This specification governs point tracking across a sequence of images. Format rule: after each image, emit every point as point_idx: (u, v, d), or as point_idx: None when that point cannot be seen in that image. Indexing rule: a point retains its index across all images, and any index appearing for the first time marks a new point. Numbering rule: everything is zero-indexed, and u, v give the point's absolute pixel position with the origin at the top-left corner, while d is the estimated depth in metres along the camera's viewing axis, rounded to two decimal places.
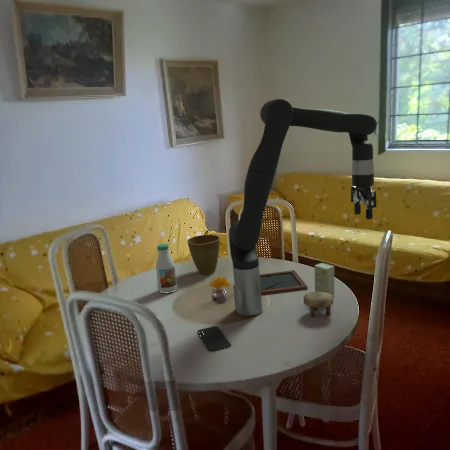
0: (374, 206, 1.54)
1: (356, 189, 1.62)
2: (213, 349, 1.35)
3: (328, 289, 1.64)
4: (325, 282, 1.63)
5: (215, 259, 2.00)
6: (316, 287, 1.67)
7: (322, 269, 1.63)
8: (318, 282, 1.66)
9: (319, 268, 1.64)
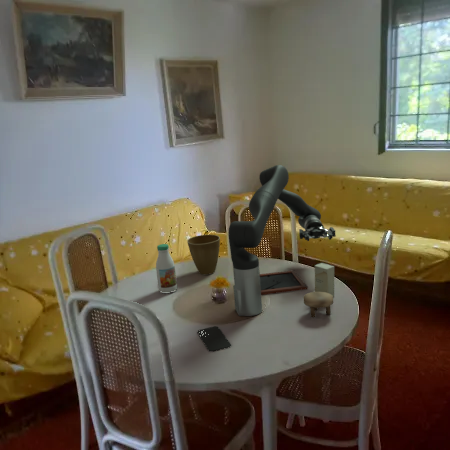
0: None
1: (309, 229, 1.83)
2: (213, 349, 1.35)
3: (328, 289, 1.64)
4: (325, 282, 1.63)
5: (215, 259, 2.00)
6: (316, 287, 1.67)
7: (322, 269, 1.63)
8: (318, 282, 1.66)
9: (319, 268, 1.64)
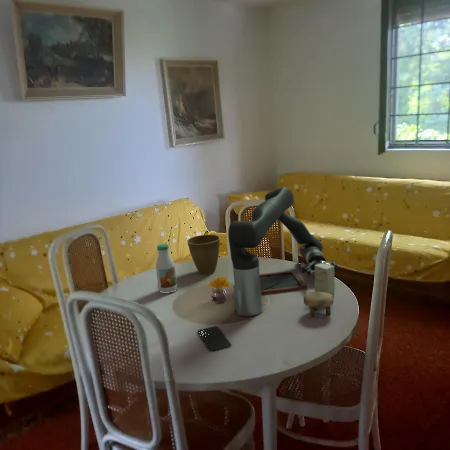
0: None
1: (311, 262, 1.83)
2: (213, 349, 1.35)
3: (328, 289, 1.64)
4: (325, 282, 1.63)
5: (215, 259, 2.00)
6: (316, 287, 1.67)
7: (322, 269, 1.63)
8: (318, 282, 1.66)
9: (319, 268, 1.64)
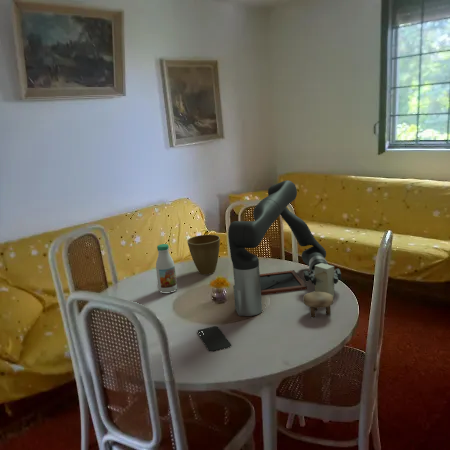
0: (340, 277, 1.69)
1: (314, 270, 1.74)
2: (213, 349, 1.35)
3: (328, 289, 1.64)
4: (325, 282, 1.63)
5: (215, 259, 2.00)
6: (316, 287, 1.67)
7: (322, 269, 1.63)
8: (318, 282, 1.66)
9: (319, 268, 1.64)
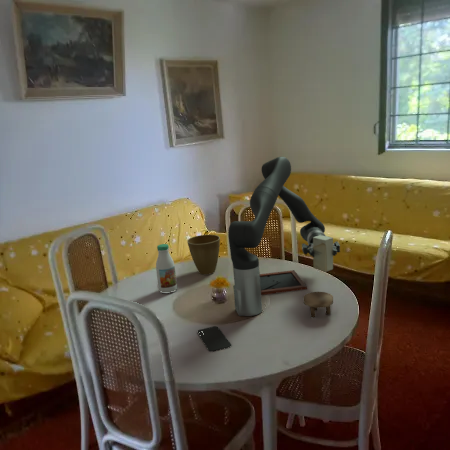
0: (339, 250, 1.65)
1: (312, 243, 1.71)
2: (213, 349, 1.35)
3: (327, 261, 1.61)
4: (323, 254, 1.60)
5: (215, 259, 2.00)
6: (314, 259, 1.64)
7: (321, 240, 1.60)
8: (317, 254, 1.63)
9: (318, 240, 1.61)
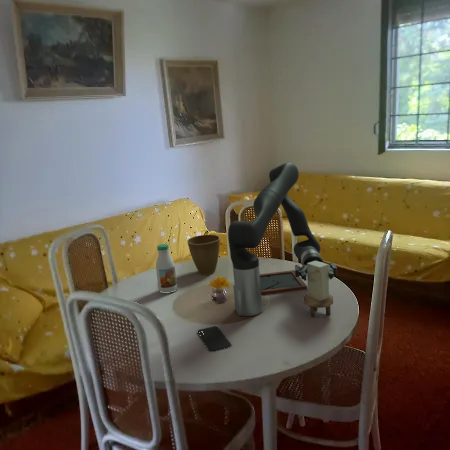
0: (336, 272, 1.53)
1: (306, 265, 1.58)
2: (213, 349, 1.35)
3: (322, 290, 1.49)
4: (318, 282, 1.48)
5: (215, 259, 2.00)
6: (309, 287, 1.52)
7: (315, 267, 1.48)
8: (311, 281, 1.51)
9: (312, 266, 1.49)
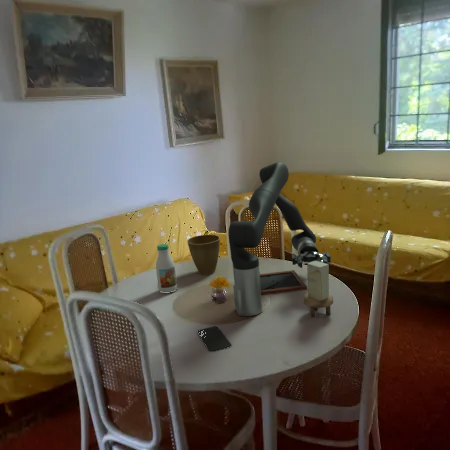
0: (330, 260, 1.66)
1: (302, 254, 1.71)
2: (214, 349, 1.35)
3: (322, 290, 1.49)
4: (318, 282, 1.48)
5: (215, 259, 2.00)
6: (309, 287, 1.52)
7: (315, 267, 1.48)
8: (311, 281, 1.51)
9: (312, 266, 1.49)
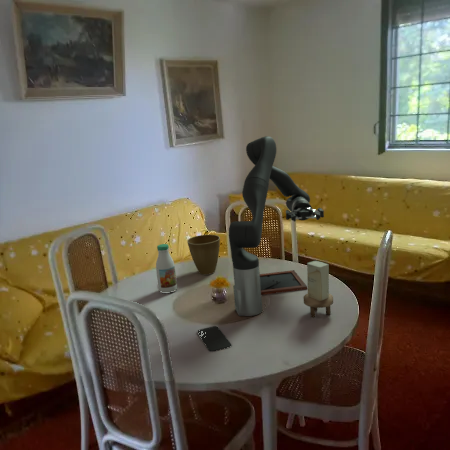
0: (323, 215, 1.68)
1: (296, 210, 1.73)
2: (214, 349, 1.35)
3: (322, 290, 1.49)
4: (318, 282, 1.48)
5: (215, 259, 2.00)
6: (309, 287, 1.52)
7: (315, 267, 1.48)
8: (311, 281, 1.51)
9: (312, 266, 1.49)
